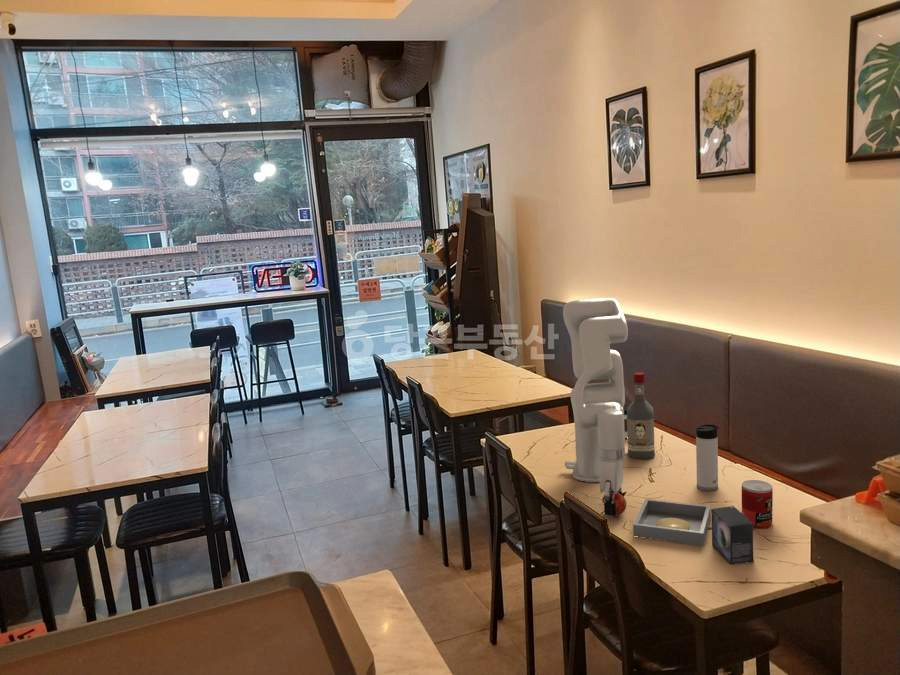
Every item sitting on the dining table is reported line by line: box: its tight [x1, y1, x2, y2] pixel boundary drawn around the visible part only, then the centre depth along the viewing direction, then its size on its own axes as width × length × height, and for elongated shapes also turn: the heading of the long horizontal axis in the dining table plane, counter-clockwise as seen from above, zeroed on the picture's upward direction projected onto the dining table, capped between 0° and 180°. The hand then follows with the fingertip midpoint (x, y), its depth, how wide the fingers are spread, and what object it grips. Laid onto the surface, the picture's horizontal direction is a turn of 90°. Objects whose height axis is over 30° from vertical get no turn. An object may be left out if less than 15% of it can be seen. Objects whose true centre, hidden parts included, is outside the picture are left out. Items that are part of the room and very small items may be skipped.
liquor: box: [627, 372, 656, 460], centre depth 248 cm, size 9×9×30 cm
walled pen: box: [632, 498, 712, 547], centre depth 193 cm, size 18×18×4 cm
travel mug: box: [695, 423, 720, 492], centre depth 217 cm, size 6×7×20 cm
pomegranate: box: [600, 490, 628, 517], centre depth 203 cm, size 7×7×10 cm
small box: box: [711, 505, 755, 565], centre depth 176 cm, size 11×6×10 cm, turn 5°
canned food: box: [741, 479, 774, 530], centre depth 191 cm, size 8×8×11 cm
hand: (613, 509), depth 204 cm, fingers closed on pomegranate, 7 cm apart
